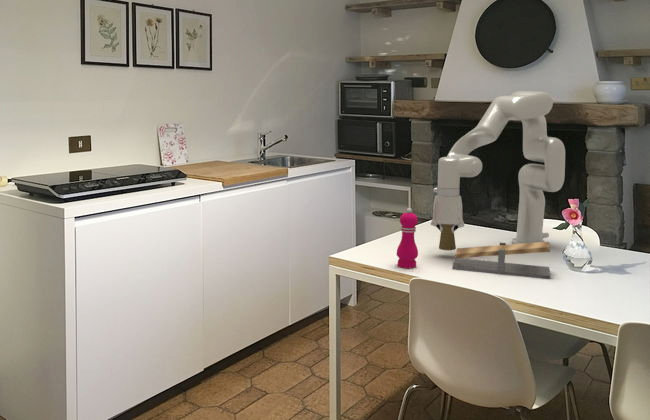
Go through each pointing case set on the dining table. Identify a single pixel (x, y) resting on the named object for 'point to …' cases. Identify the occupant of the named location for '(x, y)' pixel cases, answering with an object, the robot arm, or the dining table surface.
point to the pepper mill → (407, 241)
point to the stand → (502, 267)
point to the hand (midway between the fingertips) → (446, 242)
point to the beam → (508, 249)
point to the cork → (447, 238)
